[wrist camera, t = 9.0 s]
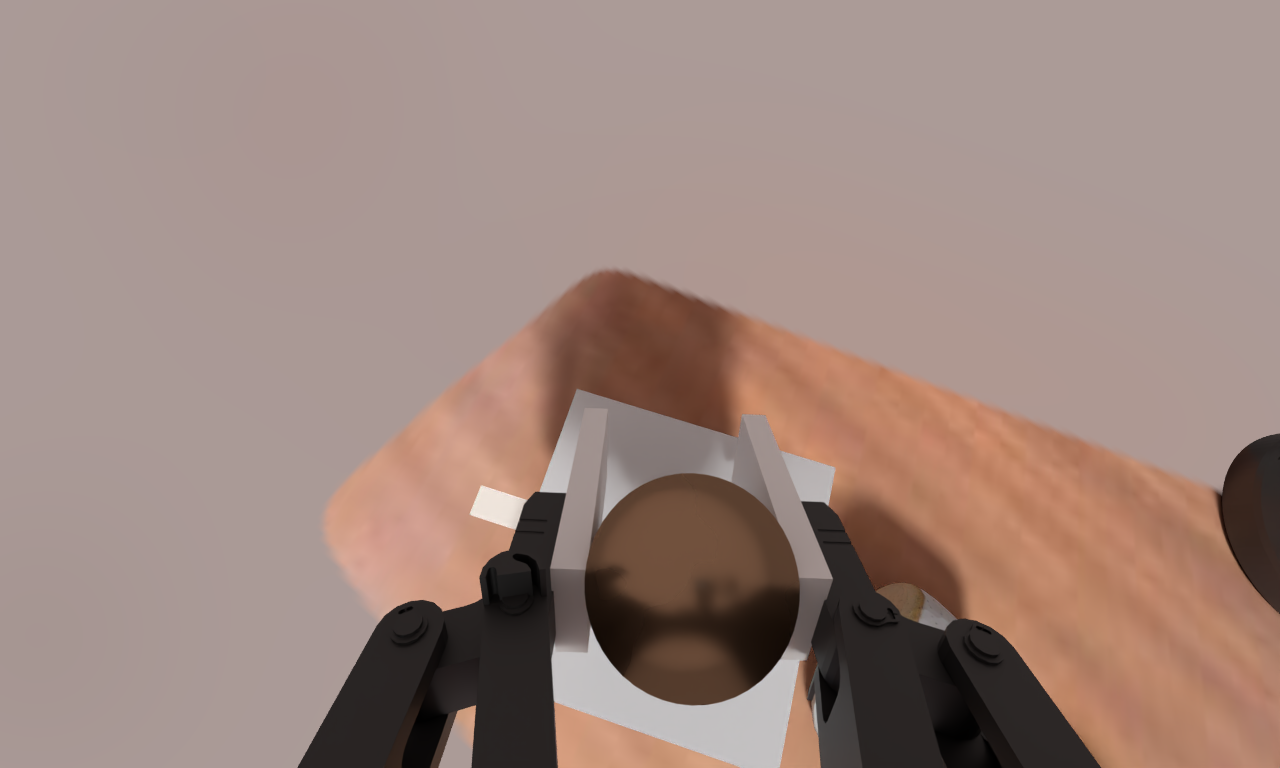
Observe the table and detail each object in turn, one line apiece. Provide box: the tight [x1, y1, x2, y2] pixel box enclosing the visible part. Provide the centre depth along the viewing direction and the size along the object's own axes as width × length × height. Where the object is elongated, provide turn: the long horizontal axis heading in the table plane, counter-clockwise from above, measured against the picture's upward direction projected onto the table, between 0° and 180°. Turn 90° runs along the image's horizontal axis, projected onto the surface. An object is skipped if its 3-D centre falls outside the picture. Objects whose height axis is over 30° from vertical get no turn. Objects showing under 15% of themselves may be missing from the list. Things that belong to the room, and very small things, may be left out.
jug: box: [470, 389, 835, 768], centre depth 25 cm, size 13×10×16 cm
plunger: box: [584, 473, 800, 706], centre depth 21 cm, size 8×8×22 cm
